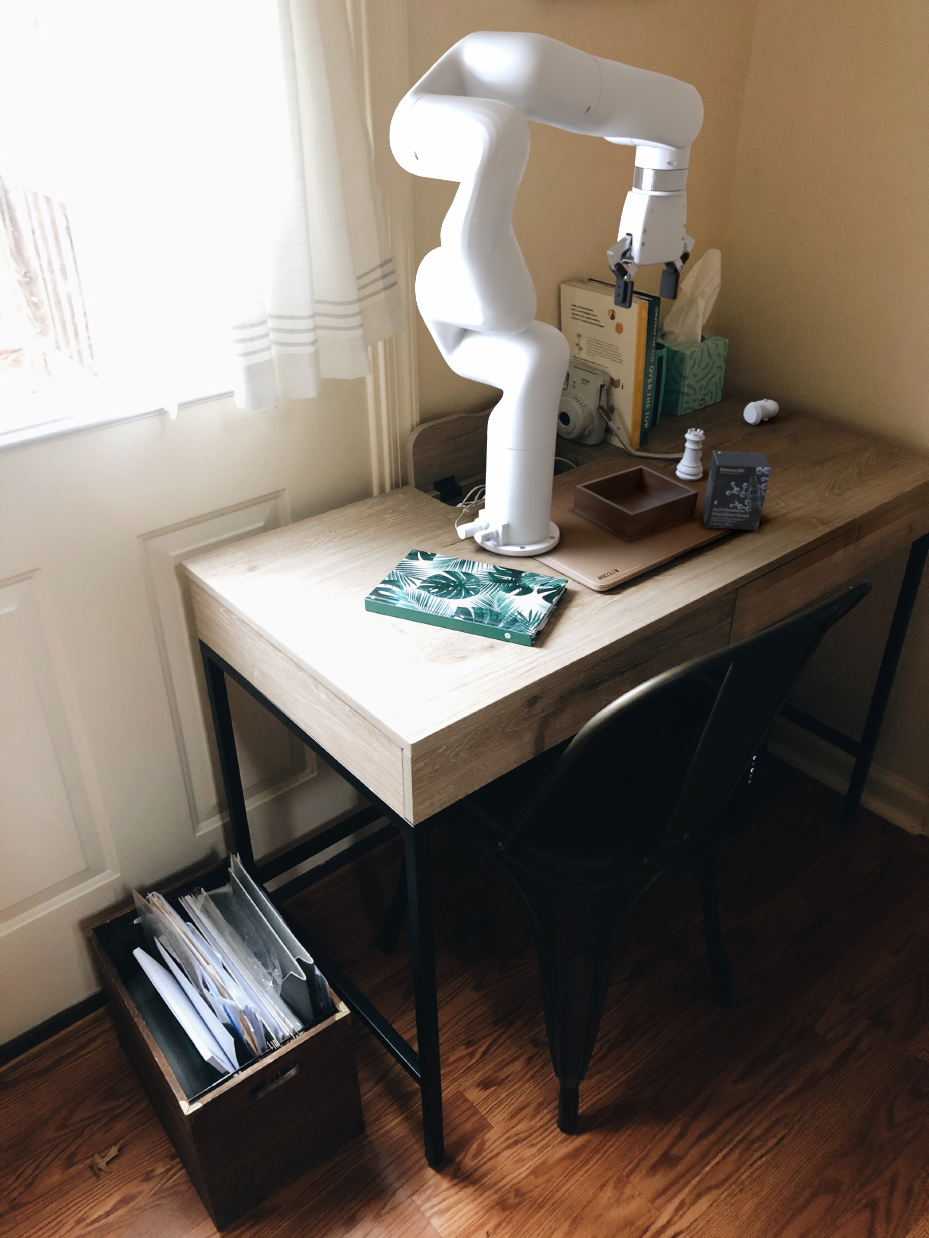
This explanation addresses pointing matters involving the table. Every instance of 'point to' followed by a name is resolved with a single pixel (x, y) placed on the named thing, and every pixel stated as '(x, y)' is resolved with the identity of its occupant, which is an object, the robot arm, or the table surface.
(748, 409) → the smooth white sculpture
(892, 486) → the table surface
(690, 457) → the rook chess piece
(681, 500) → the tray
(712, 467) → the box
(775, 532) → the table surface
